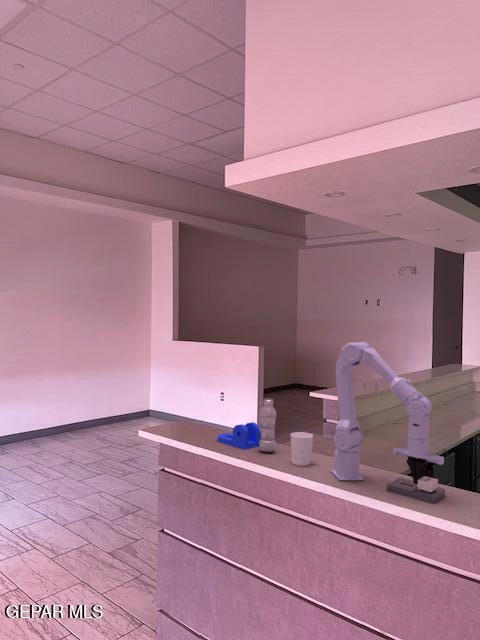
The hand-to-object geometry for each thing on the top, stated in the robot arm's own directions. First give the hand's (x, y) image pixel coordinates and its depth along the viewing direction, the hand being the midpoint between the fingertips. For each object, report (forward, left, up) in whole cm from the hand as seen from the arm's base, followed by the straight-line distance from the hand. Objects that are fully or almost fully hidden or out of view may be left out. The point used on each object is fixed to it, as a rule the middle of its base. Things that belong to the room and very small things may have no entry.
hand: (417, 483), depth 146 cm
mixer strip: (0, 0, -3) cm, 3 cm away
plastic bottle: (-44, -38, -3) cm, 59 cm away
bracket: (-57, -49, -3) cm, 75 cm away
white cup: (-30, -28, -3) cm, 42 cm away
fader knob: (+2, +2, -1) cm, 3 cm away
